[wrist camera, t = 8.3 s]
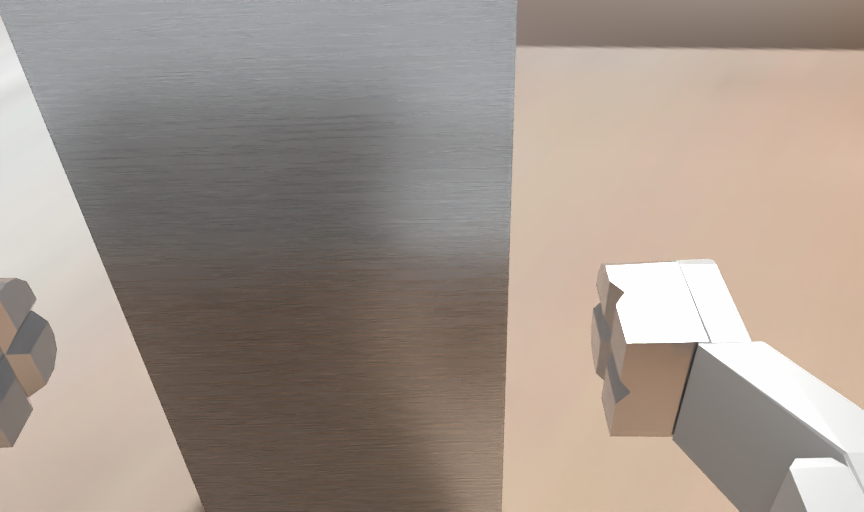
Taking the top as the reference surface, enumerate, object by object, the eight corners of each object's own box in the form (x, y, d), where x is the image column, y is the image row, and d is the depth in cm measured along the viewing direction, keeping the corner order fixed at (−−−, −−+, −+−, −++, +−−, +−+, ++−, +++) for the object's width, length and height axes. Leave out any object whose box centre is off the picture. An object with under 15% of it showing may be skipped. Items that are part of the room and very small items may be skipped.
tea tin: (233, 600, 14) (-99, -177, 6) (278, 392, 18) (114, -244, 10) (504, 596, 14) (538, -206, 6) (489, 387, 18) (496, -263, 10)
